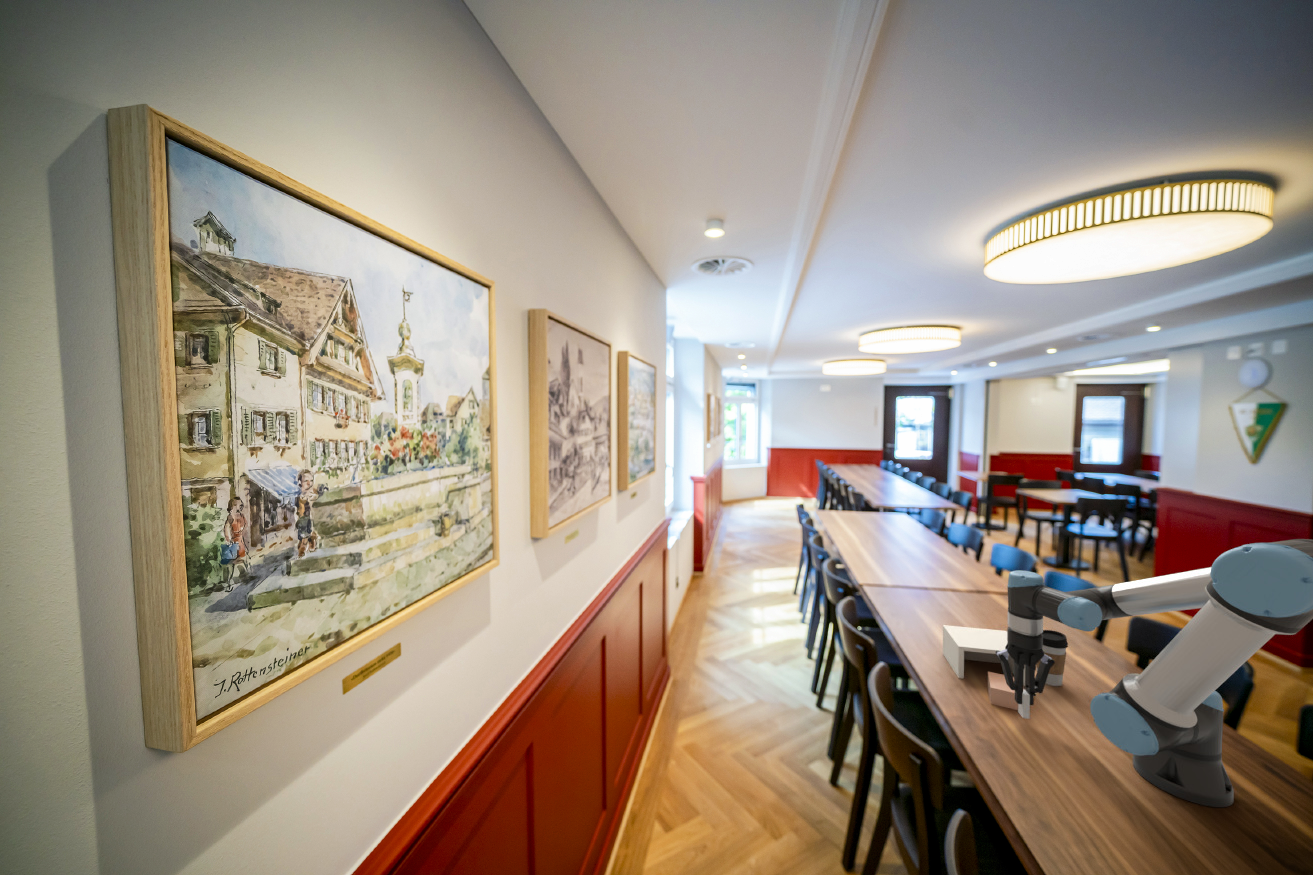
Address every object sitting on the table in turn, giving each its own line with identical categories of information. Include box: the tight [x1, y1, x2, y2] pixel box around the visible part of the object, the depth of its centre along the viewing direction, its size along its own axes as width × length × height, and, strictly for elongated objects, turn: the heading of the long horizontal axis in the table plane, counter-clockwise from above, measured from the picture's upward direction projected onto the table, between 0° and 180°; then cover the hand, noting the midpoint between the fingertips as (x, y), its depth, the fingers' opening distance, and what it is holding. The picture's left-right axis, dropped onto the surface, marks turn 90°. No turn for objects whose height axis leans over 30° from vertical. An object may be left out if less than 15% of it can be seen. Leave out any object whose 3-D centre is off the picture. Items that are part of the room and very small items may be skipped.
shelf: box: [942, 624, 1025, 687], centre depth 153 cm, size 16×19×10 cm
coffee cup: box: [1036, 629, 1069, 687], centre depth 146 cm, size 8×8×15 cm
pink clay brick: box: [987, 671, 1025, 711], centre depth 137 cm, size 10×8×5 cm
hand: (1023, 715), depth 126 cm, fingers closed
